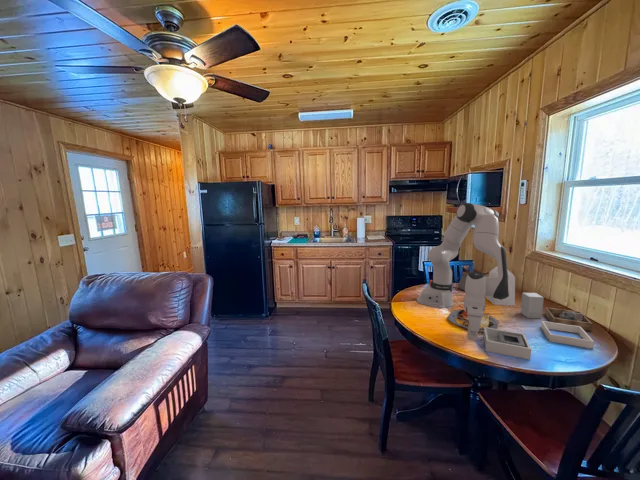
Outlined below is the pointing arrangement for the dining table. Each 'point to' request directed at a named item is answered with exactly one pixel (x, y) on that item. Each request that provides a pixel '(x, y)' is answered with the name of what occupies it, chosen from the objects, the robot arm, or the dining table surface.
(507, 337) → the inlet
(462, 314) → the food plate
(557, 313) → the stand rim
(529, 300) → the supplement box
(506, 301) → the milk
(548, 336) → the open square frame
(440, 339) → the dining table surface
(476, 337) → the connector
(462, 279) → the coffee pot
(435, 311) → the dining table surface
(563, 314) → the mineral specimen
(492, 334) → the walled box
